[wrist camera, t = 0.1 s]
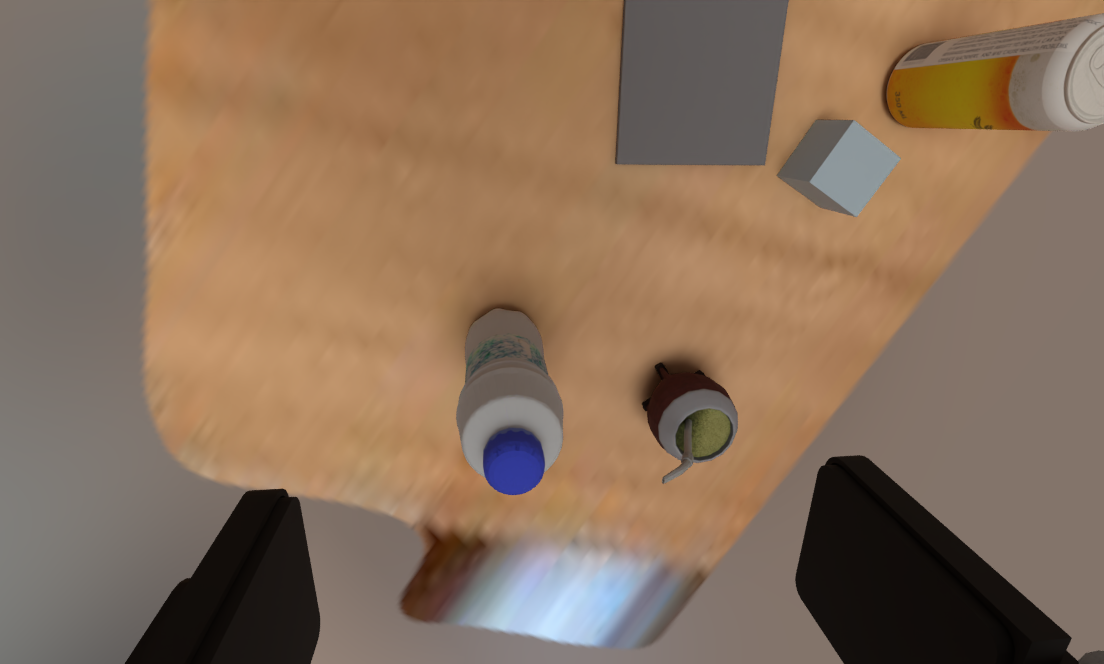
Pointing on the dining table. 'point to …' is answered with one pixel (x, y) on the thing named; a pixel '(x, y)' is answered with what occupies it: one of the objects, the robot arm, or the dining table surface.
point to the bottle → (508, 403)
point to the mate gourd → (690, 418)
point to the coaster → (698, 81)
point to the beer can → (1005, 79)
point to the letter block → (839, 166)
